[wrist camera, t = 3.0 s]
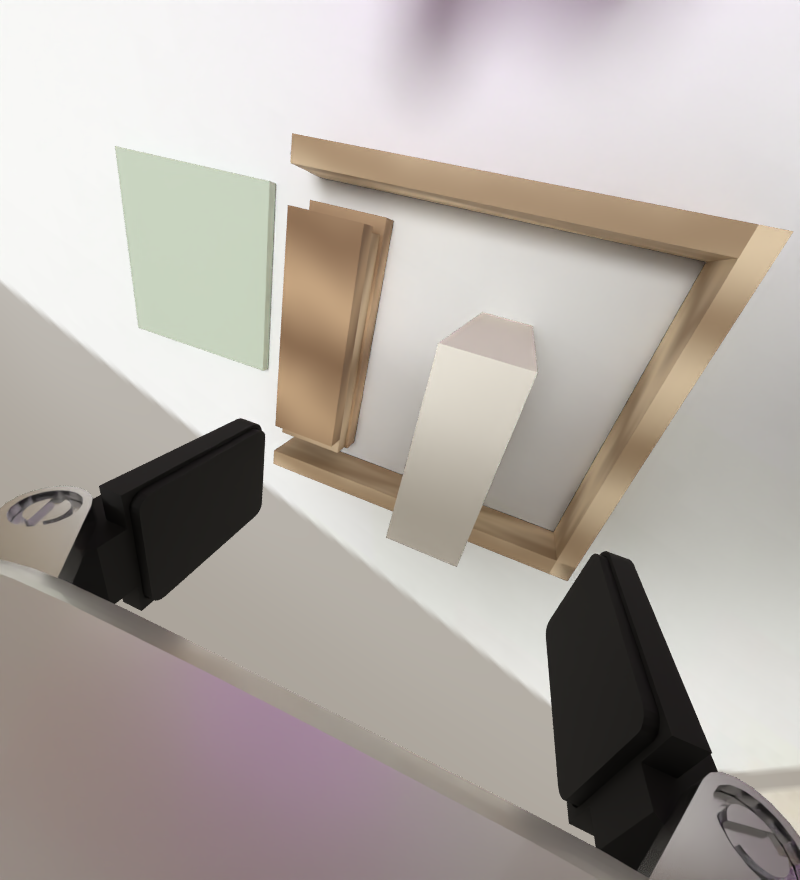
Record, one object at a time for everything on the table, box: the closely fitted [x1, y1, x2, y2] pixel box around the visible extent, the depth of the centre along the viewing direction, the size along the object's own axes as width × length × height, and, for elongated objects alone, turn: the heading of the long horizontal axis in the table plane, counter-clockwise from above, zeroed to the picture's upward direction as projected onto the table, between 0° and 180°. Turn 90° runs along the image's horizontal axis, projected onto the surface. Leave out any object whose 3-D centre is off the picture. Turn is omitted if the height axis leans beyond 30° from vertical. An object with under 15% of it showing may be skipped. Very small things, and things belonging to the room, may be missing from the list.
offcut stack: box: [275, 200, 393, 453], centre depth 23 cm, size 15×5×4 cm, turn 167°
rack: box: [273, 133, 793, 581], centre depth 22 cm, size 20×22×3 cm
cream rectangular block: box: [386, 312, 538, 567], centre depth 17 cm, size 8×3×12 cm, turn 167°
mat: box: [115, 146, 276, 371], centre depth 25 cm, size 12×12×1 cm
